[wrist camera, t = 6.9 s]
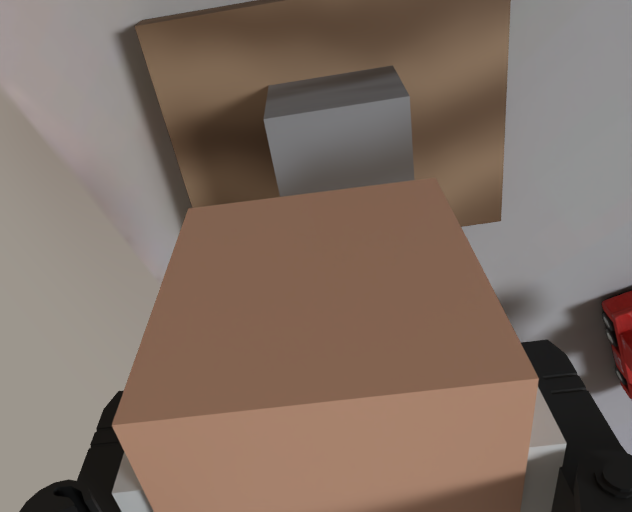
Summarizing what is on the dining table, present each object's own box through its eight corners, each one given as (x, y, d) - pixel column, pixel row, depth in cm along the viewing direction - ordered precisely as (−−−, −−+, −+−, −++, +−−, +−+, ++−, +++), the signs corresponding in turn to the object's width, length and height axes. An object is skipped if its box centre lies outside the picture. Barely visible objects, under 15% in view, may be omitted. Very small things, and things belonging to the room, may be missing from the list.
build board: (141, 20, 27) (103, 51, 22) (502, -42, 26) (554, -25, 21) (212, 249, 35) (197, 314, 30) (493, 209, 34) (530, 268, 29)
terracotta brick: (188, 208, 14) (111, 425, 8) (435, 177, 14) (538, 378, 8) (237, 382, 18) (208, 623, 12) (436, 360, 17) (508, 595, 11)
